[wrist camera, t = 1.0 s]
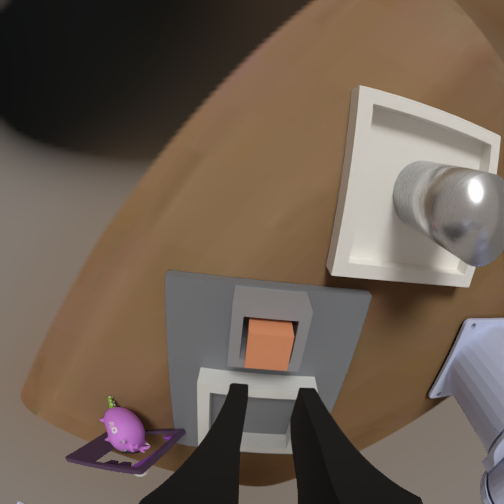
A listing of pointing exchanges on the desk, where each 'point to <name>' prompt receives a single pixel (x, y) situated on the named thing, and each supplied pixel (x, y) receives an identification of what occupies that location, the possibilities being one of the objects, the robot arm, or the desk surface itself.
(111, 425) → the eggplant monster toy
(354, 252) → the tray
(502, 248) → the cylinder
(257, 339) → the button
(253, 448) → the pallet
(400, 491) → the robot arm
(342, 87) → the desk surface
